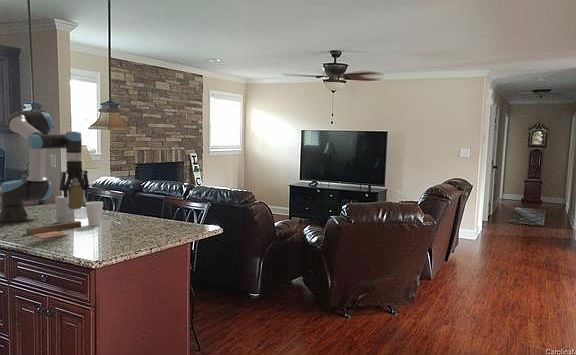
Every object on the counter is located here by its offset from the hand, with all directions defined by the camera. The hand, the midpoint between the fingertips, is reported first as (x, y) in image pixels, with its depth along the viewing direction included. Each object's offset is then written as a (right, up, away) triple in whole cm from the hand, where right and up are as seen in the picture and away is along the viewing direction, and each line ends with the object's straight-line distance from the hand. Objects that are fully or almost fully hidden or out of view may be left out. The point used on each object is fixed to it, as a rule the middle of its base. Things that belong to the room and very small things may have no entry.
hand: (75, 202), depth 255 cm
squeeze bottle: (0, -3, 0) cm, 4 cm away
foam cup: (+3, -14, +18) cm, 23 cm away
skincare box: (-16, -13, +22) cm, 30 cm away
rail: (-6, -16, -3) cm, 17 cm away
